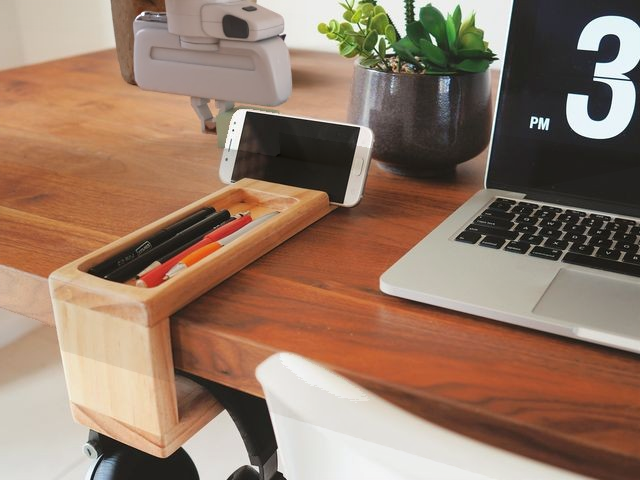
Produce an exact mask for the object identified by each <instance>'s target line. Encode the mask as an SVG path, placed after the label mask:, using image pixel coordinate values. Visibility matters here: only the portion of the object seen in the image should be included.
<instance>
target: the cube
mask: <svg viewBox="0 0 640 480" xmlns="http://www.w3.org/2000/svg"><path fill="white" fill-rule="evenodd" d="M239 109H253V110H260V111H266V112H272V113H278V114H280V110H278V109H271V108H266V107H265V108H263V107H256V106H251V105H250V106H249V105H244V104H243V105H242V104H239V105H237V106H234V108H233V109H230V110H228V111H225V112H223V113H220V114H218V113H217V114H215V117H216V125H217V135H216V137H217V148H218V149H224V148H225V143H226V138H227V134H228V130H229V125H230V121H231V119H232V116H233V114H234V113H235V112H236V111H237V110H239ZM280 115H281V114H280ZM224 150H225V149H224Z"/></svg>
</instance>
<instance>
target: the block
mask: <svg viewBox="0 0 640 480" xmlns="http://www.w3.org/2000/svg"><path fill="white" fill-rule="evenodd" d="M110 9H111V19H112V20H111V21H112V26H113V35H114V42H115V50H116V56H117V57H116V58H117V61H118V64H119V65H118V66H119V71H120V75H121V78H122V79H123V80H124V81H125V82H127V83H129V84H131V85H136V86H138V84H137V83H136V81H135V75H134V40H135V38H134V30H133V22H134V21H135V19H136V17H137V16H138V15H140V14H141V13H142V12H143V11H152V12H157V13H158V12H166V5H165V0H110ZM139 20H143V19H142V18H141V19H139Z"/></svg>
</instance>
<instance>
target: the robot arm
mask: <svg viewBox="0 0 640 480" xmlns="http://www.w3.org/2000/svg"><path fill="white" fill-rule="evenodd" d="M165 5H166V12H158V13H157V12H152V11H143V12H142V13H141V14H140V15H138V16H137V17H136V19H135V21H134V22H133V30H134V38H135V40H134V75H135V81H136V83H137V84H138V85H137V86H138V87H139V89H140V90H141V91H145V92H152V93H160V94H161V93H162V94H168V95H177V96H183V97H184V96H185V97H190V105H191V107H192V109H193V110H194V112H195V114H196V116H197V118H198V119H199V120H200V126H201V127H200V128H201V133H202V134H204V135H212V136H217V125H216V116H214V115H213V113H212V111H211V109H210V106H209V105H208V104H209V103H211V100H214V105H215V109H217V110H218V112H217V115H218V114H220V113H223V112H225V111H228V110H230V109H233V108H235V107H236V104H235V103H238V104H246V105H254V106H260V107H269V108H276V107H279V106H281V105H283V104H285V103H287V101H288V100H289V99H290V98H291V96H292V94H293V77H292V76H293V75H292V64H291V58H290V57H291V56H290V51H289V48H288V46H287V43H286V42H285V40H284V41H283V40H282V39H281V38H280V37H278V36H276V35H282V34H284V31H285V18H284V17H283V16H282V15H281V14H279V13H278V12H275V11H273V10H271V9H268V8H266V7H264V6H262V5H260V4H258V3H254V2H252V1H250V0H165ZM141 18H142V19H143V20H139V19H141Z"/></svg>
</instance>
